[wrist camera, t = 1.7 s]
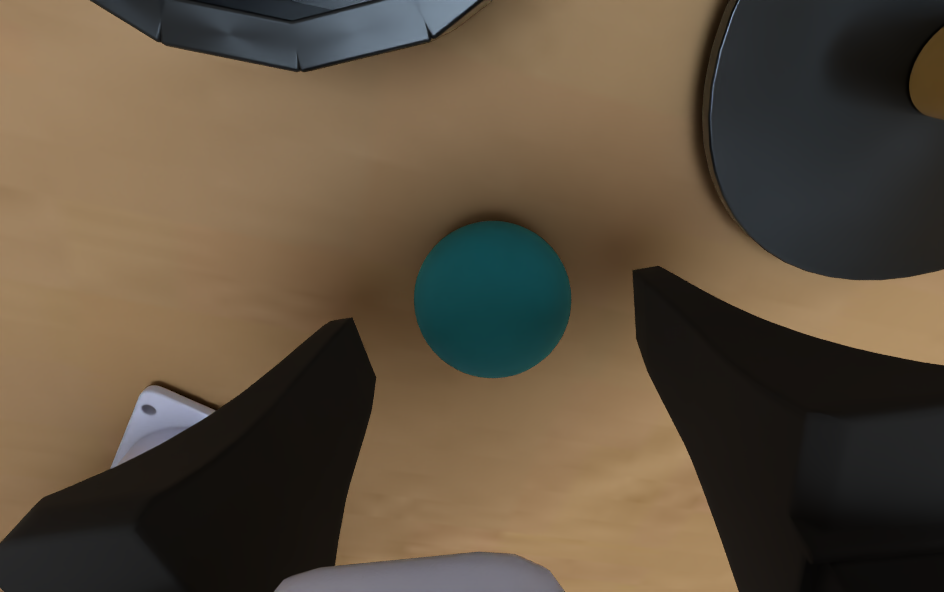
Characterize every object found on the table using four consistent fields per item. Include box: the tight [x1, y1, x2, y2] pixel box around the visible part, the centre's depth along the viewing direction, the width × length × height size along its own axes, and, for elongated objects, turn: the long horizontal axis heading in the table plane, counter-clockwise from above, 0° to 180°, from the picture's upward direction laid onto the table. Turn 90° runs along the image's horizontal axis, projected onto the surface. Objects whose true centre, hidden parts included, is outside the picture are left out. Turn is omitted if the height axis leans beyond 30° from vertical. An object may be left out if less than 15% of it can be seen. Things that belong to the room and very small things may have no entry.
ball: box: [414, 221, 571, 378], centre depth 14 cm, size 4×4×4 cm
